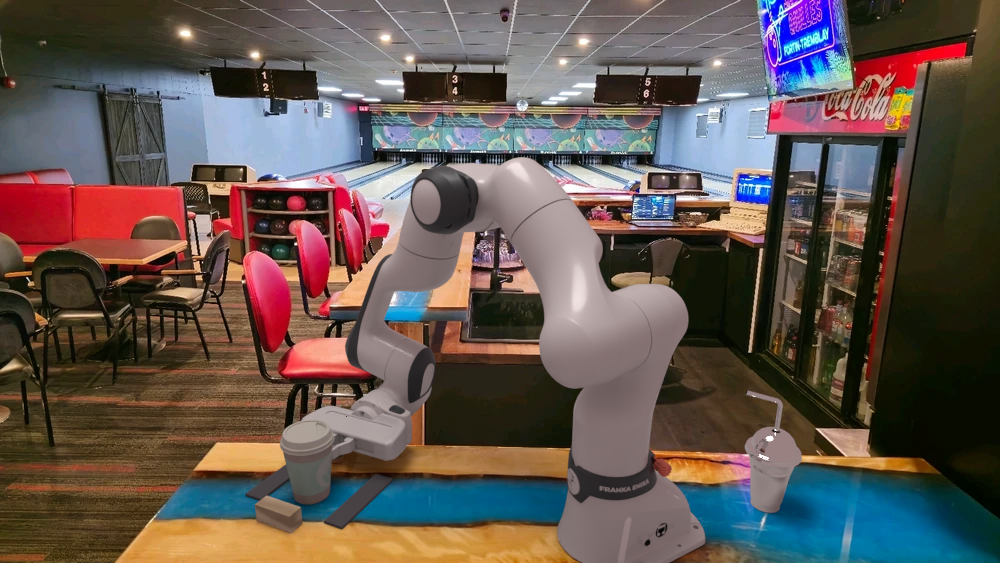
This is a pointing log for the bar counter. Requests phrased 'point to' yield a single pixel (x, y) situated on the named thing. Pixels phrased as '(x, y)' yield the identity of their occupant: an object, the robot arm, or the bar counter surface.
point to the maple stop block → (278, 514)
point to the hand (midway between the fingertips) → (325, 453)
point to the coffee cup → (308, 459)
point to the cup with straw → (770, 462)
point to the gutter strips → (344, 511)
